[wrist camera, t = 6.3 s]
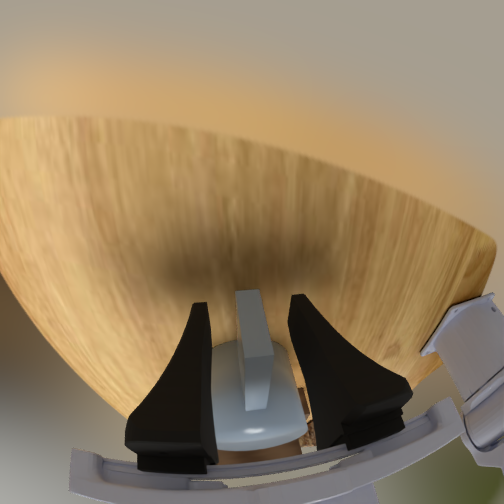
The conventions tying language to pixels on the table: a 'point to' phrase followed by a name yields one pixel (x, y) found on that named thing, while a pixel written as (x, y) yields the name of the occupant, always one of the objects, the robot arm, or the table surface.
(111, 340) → the table surface
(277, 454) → the caddy
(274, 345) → the finned dome knob
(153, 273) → the table surface
